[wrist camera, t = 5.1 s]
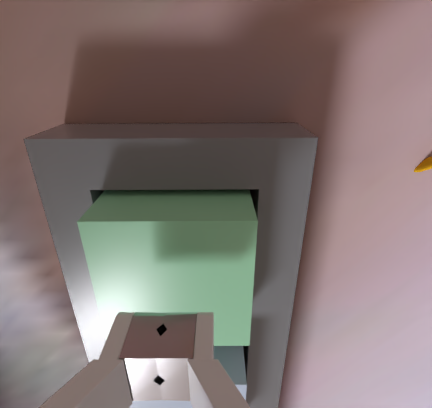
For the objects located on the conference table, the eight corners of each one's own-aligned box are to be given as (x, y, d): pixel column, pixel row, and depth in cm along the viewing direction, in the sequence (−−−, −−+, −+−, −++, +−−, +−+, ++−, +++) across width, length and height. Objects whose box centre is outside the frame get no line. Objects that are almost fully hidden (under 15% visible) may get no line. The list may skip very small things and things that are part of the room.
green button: (243, 294, 15) (249, 345, 12) (126, 295, 15) (107, 346, 12) (248, 186, 12) (257, 220, 10) (107, 187, 12) (76, 221, 10)
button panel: (259, 449, 25) (264, 496, 22) (137, 450, 25) (128, 496, 22) (296, 122, 13) (318, 137, 10) (63, 124, 13) (23, 138, 10)
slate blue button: (238, 397, 19) (242, 453, 16) (145, 397, 19) (133, 453, 16) (241, 330, 16) (246, 384, 13) (133, 331, 16) (116, 385, 13)
